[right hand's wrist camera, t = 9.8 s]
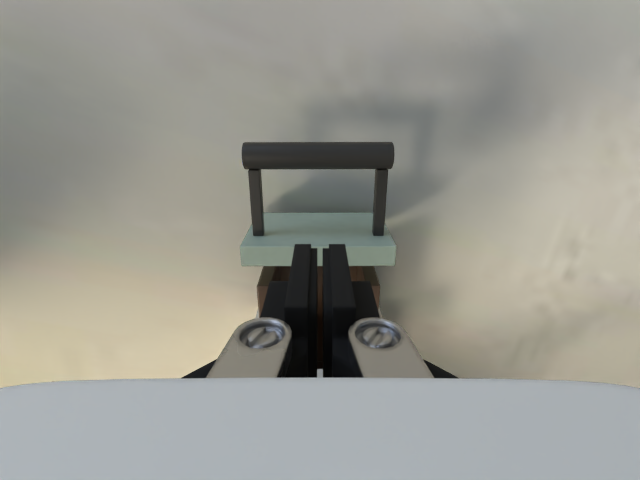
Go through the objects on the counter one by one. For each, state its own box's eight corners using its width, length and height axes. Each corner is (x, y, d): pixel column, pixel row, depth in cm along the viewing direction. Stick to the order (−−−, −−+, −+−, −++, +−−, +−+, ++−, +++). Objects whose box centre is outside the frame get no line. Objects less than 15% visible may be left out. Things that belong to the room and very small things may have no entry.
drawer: (252, 134, 23) (230, 146, 18) (384, 134, 23) (405, 146, 18) (267, 359, 30) (255, 421, 24) (370, 359, 30) (382, 421, 24)
